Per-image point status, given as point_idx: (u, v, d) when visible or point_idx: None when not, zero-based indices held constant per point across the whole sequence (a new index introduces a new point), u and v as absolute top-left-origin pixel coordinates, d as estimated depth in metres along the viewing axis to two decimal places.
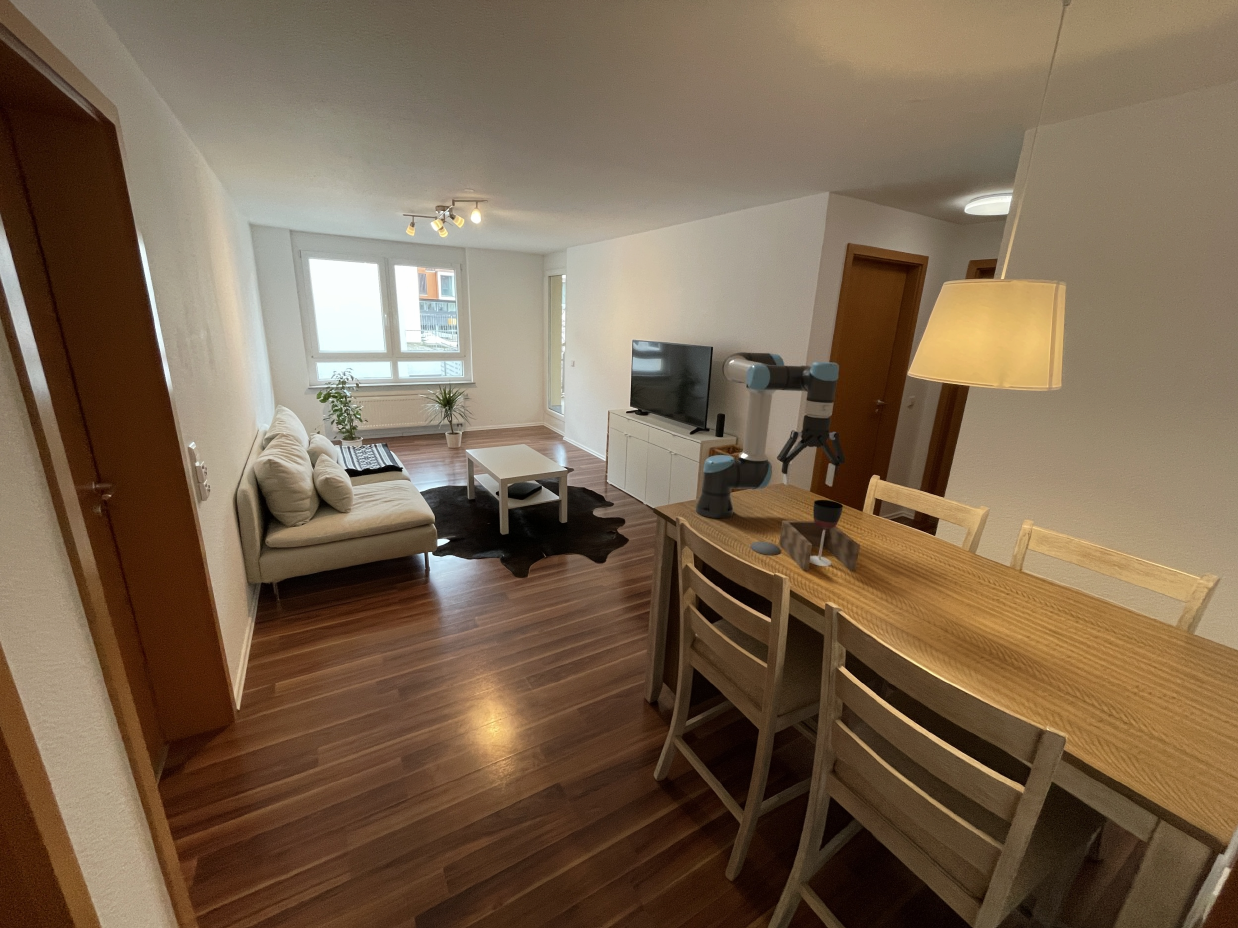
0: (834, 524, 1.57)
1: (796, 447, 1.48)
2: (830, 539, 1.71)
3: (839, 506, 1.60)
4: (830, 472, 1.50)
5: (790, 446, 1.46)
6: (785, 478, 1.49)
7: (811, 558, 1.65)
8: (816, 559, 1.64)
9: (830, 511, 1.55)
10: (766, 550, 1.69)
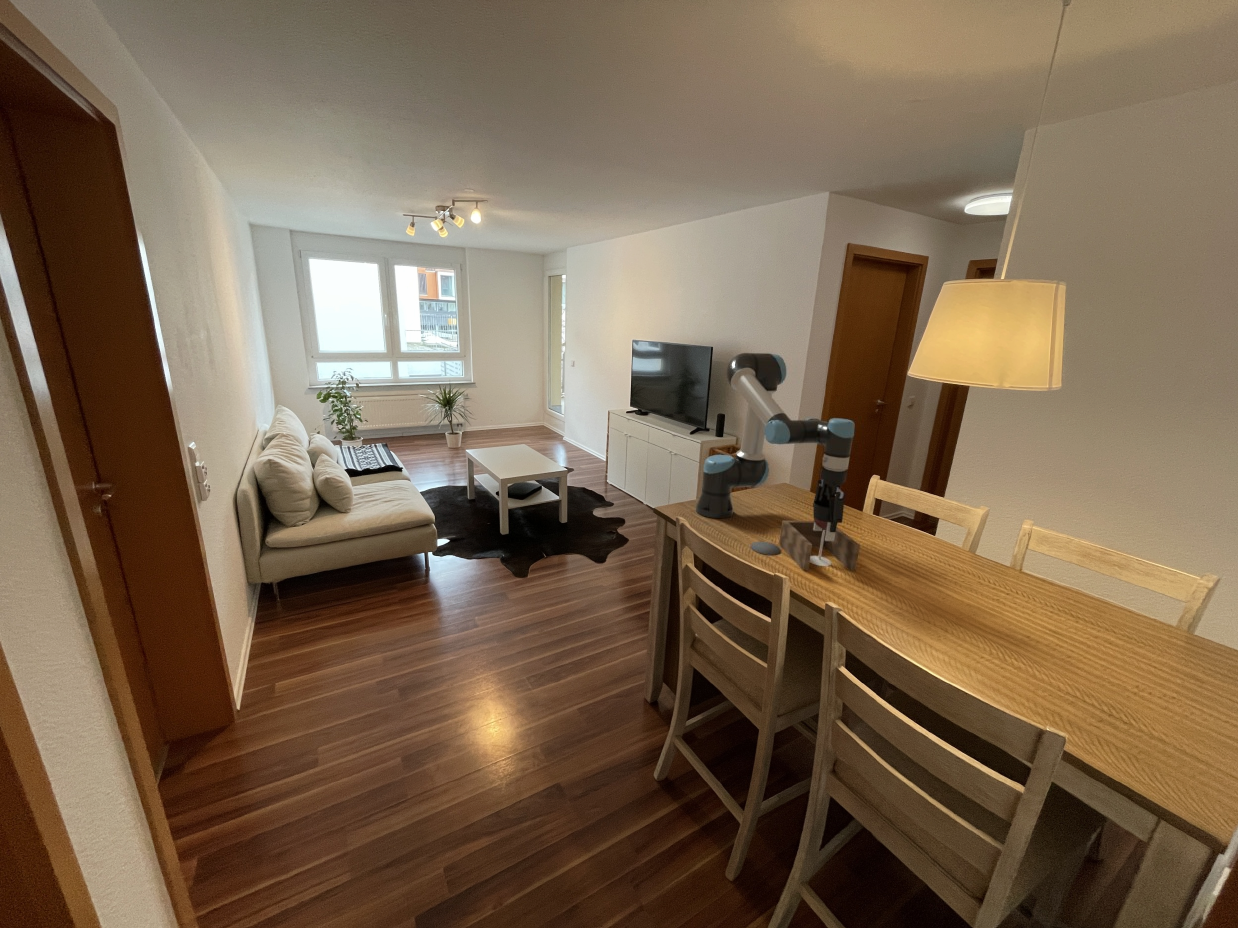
0: None
1: None
2: None
3: None
4: None
5: (816, 493, 1.64)
6: None
7: (811, 558, 1.65)
8: (816, 559, 1.64)
9: None
10: (766, 550, 1.69)
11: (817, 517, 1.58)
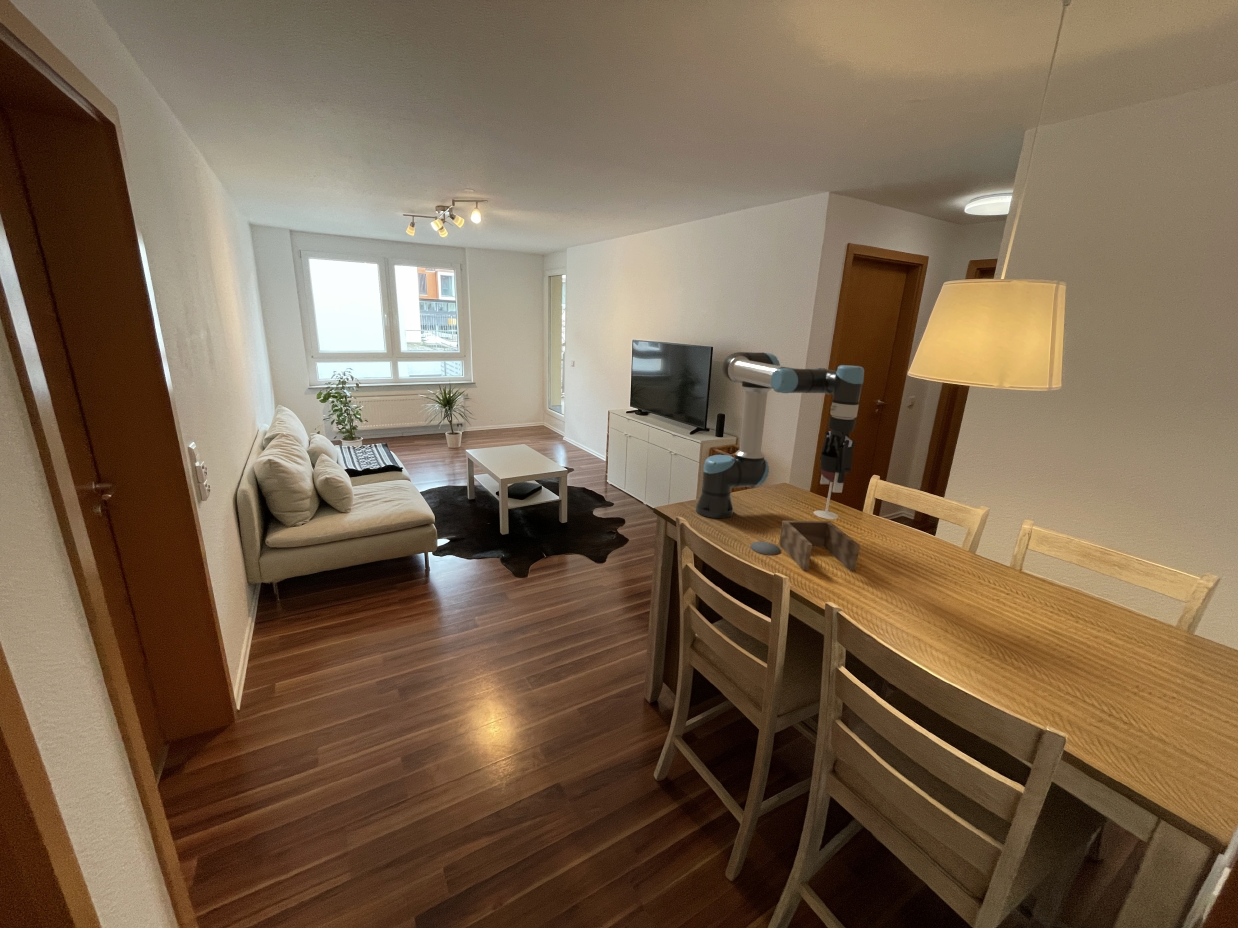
0: None
1: None
2: (830, 539, 1.71)
3: None
4: None
5: (824, 445, 1.60)
6: None
7: (818, 512, 1.61)
8: (823, 513, 1.60)
9: None
10: (766, 550, 1.69)
11: (824, 468, 1.54)
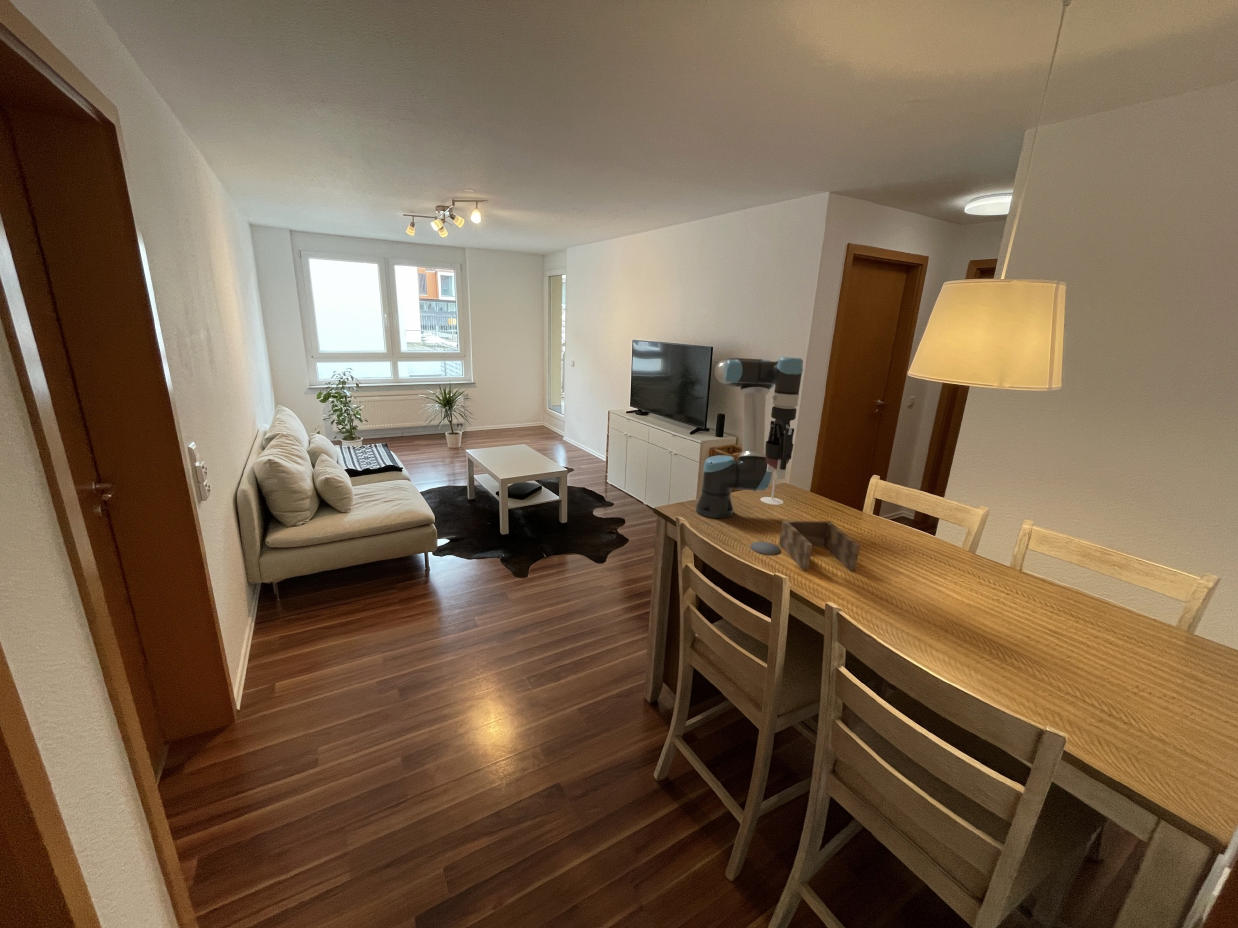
0: None
1: None
2: (830, 539, 1.71)
3: None
4: None
5: (769, 434, 1.67)
6: None
7: (764, 498, 1.68)
8: (769, 499, 1.66)
9: None
10: (766, 550, 1.69)
11: (768, 456, 1.61)
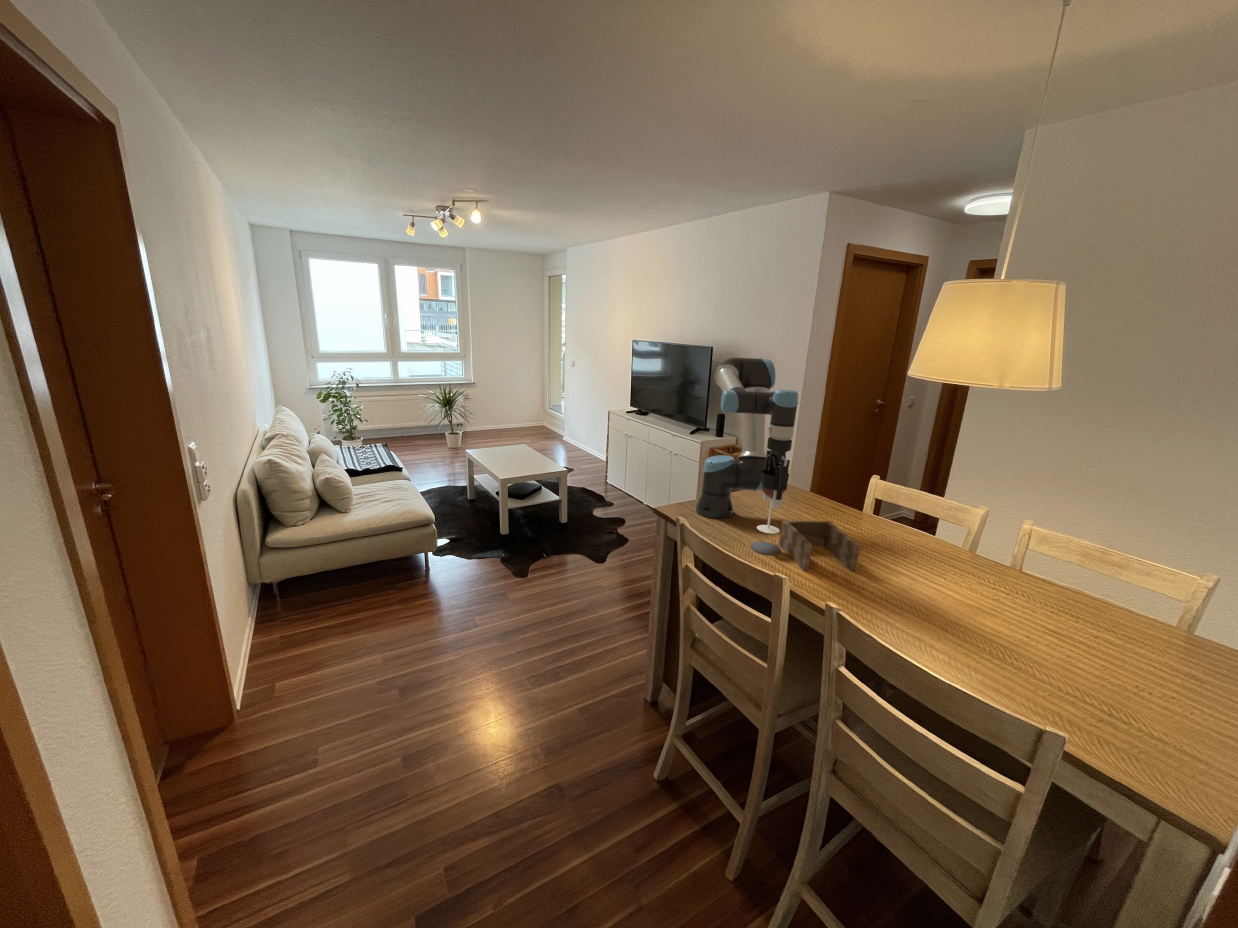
0: None
1: None
2: (830, 539, 1.71)
3: None
4: None
5: (765, 463, 1.70)
6: None
7: (761, 526, 1.70)
8: (765, 527, 1.69)
9: (775, 479, 1.61)
10: (766, 550, 1.69)
11: (764, 485, 1.64)
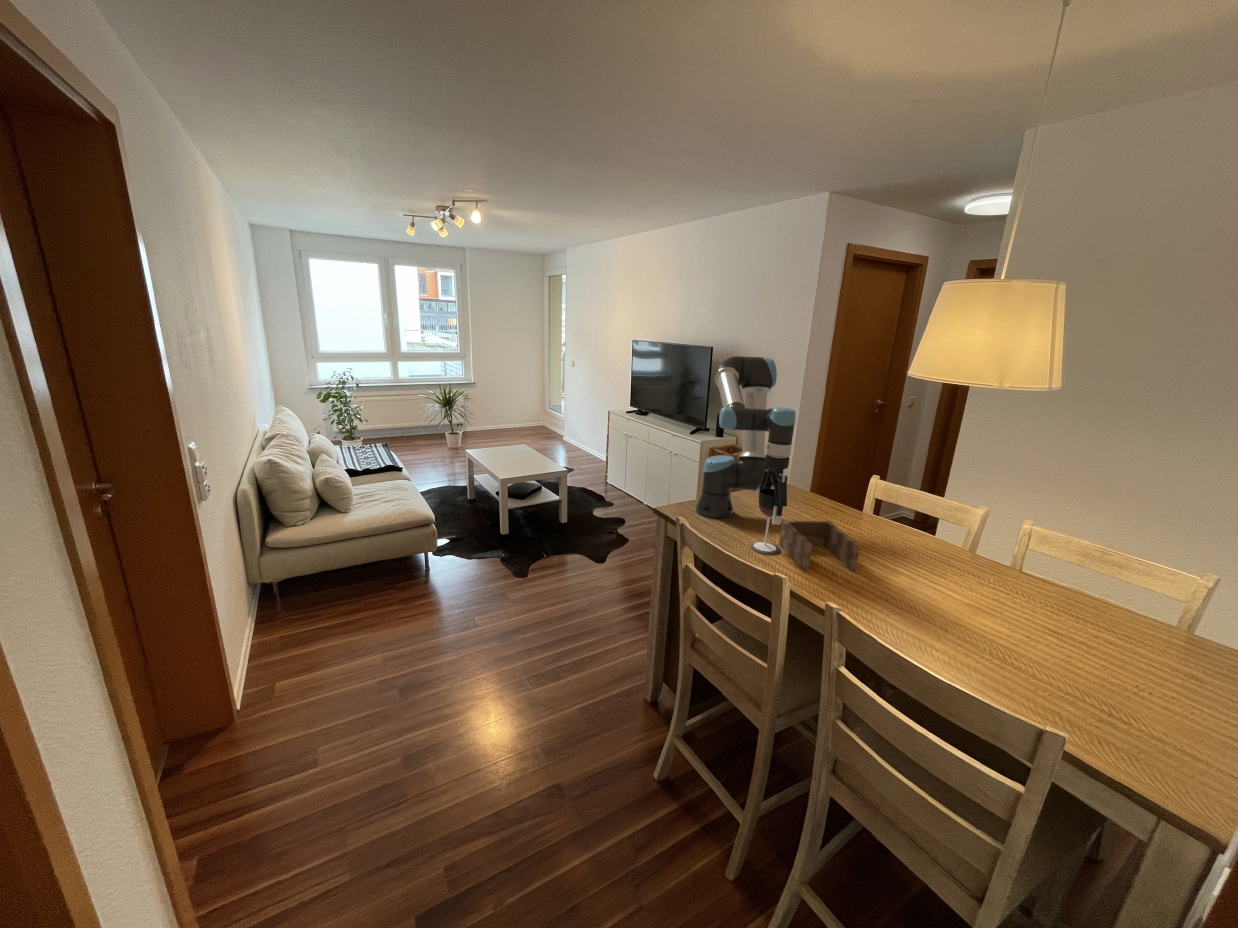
0: None
1: None
2: (830, 539, 1.71)
3: None
4: None
5: (763, 477, 1.72)
6: None
7: (757, 544, 1.73)
8: (762, 545, 1.72)
9: (772, 498, 1.63)
10: None
11: (761, 504, 1.66)
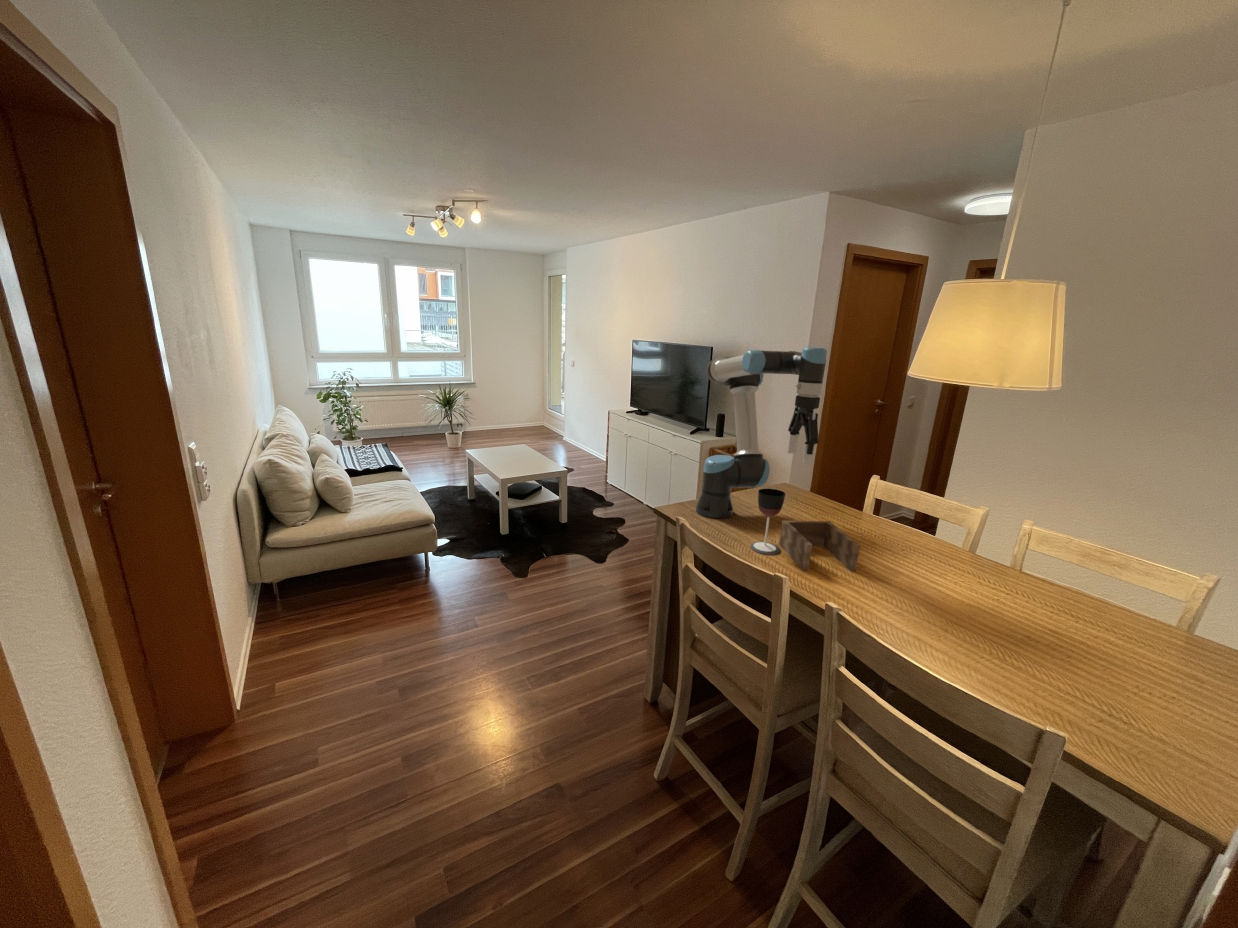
0: (777, 511, 1.65)
1: None
2: (830, 539, 1.71)
3: (782, 494, 1.68)
4: None
5: (792, 419, 1.71)
6: None
7: (757, 544, 1.73)
8: (762, 545, 1.72)
9: (772, 498, 1.63)
10: None
11: (761, 505, 1.66)
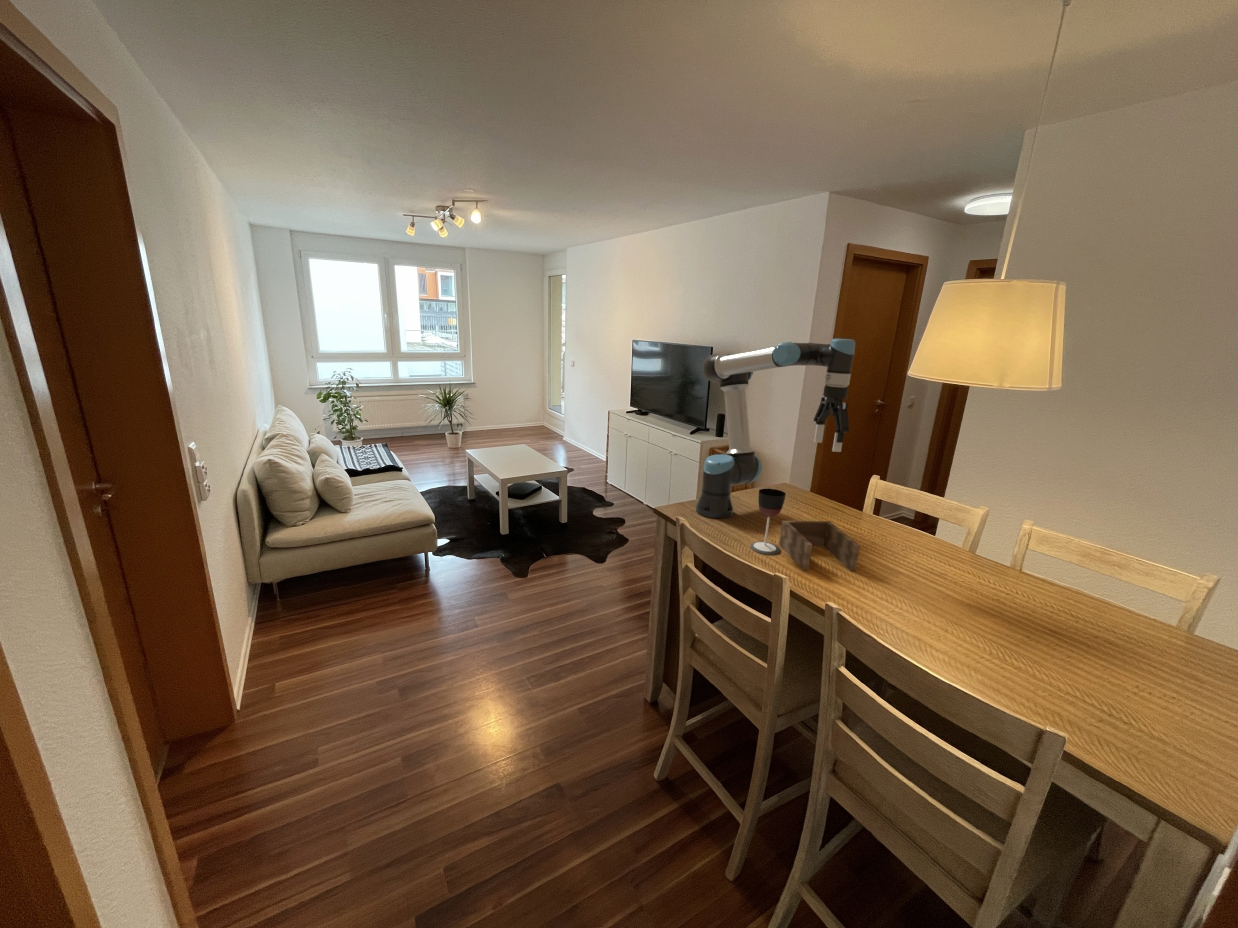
0: (777, 511, 1.65)
1: None
2: (830, 539, 1.71)
3: (783, 494, 1.68)
4: None
5: (818, 409, 1.76)
6: None
7: (757, 544, 1.73)
8: (762, 545, 1.72)
9: (772, 499, 1.63)
10: None
11: (761, 505, 1.66)
